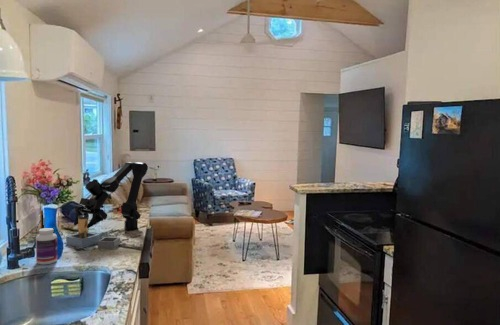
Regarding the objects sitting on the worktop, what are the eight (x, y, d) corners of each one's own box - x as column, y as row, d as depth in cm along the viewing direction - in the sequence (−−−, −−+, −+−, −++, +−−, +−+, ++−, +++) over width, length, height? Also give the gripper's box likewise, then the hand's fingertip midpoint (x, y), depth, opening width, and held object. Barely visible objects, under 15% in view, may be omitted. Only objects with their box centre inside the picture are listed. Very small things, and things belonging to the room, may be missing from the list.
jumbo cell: (89, 240, 191) (89, 215, 190) (86, 242, 187) (86, 217, 186) (80, 240, 191) (80, 215, 190) (77, 242, 186) (76, 217, 185)
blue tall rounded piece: (70, 232, 207) (70, 196, 206) (56, 237, 198) (55, 199, 196) (50, 229, 212) (49, 194, 210) (35, 233, 203) (34, 197, 201)
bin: (84, 238, 196) (84, 231, 196) (99, 242, 191) (99, 234, 191) (66, 244, 186) (66, 236, 186) (81, 247, 182) (81, 239, 181)
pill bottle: (60, 262, 161) (59, 229, 160) (39, 267, 156) (38, 232, 154) (54, 257, 167) (53, 225, 166) (33, 261, 161) (33, 228, 160)
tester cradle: (104, 243, 189) (104, 236, 189) (120, 244, 189) (120, 237, 189) (97, 248, 181) (97, 241, 181) (114, 249, 181) (114, 242, 181)
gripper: (76, 189, 194) (57, 214, 185) (102, 193, 186) (84, 220, 177) (89, 202, 202) (71, 227, 193) (115, 206, 194) (97, 232, 185)
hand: (80, 226), depth 187 cm, fingers open, 9 cm apart
